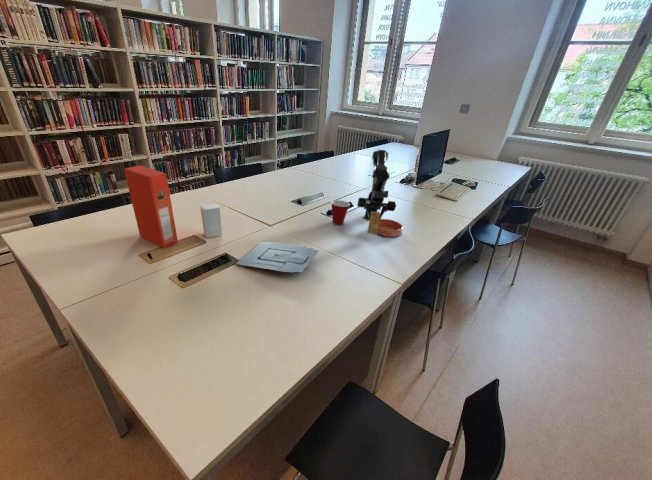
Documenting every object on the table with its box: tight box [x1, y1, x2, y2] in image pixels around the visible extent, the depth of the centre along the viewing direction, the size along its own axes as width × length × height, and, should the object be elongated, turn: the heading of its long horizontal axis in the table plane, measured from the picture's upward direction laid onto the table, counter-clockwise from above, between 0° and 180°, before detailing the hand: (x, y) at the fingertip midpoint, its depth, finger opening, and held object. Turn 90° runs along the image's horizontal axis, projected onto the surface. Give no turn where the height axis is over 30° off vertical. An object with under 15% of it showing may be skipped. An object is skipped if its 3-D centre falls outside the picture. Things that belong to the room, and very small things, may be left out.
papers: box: [235, 240, 320, 274], centre depth 140 cm, size 24×30×4 cm
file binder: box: [123, 165, 179, 249], centre depth 142 cm, size 8×17×32 cm, turn 56°
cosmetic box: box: [199, 203, 223, 239], centre depth 154 cm, size 8×6×15 cm
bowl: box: [377, 218, 403, 238], centre depth 174 cm, size 15×15×4 cm
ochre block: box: [367, 211, 381, 235], centre depth 162 cm, size 4×4×10 cm
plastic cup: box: [330, 199, 351, 226], centre depth 177 cm, size 11×11×12 cm
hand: (374, 219), depth 159 cm, fingers closed on ochre block, 4 cm apart
